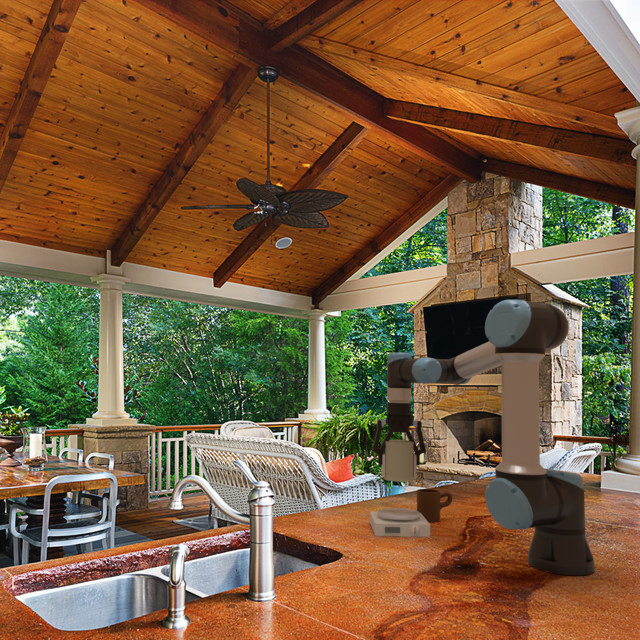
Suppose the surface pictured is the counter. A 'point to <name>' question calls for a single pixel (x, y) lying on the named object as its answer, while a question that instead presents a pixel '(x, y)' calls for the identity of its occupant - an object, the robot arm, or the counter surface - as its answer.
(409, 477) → the can
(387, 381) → the robot arm
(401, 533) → the scale
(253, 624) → the counter surface
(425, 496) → the mug
